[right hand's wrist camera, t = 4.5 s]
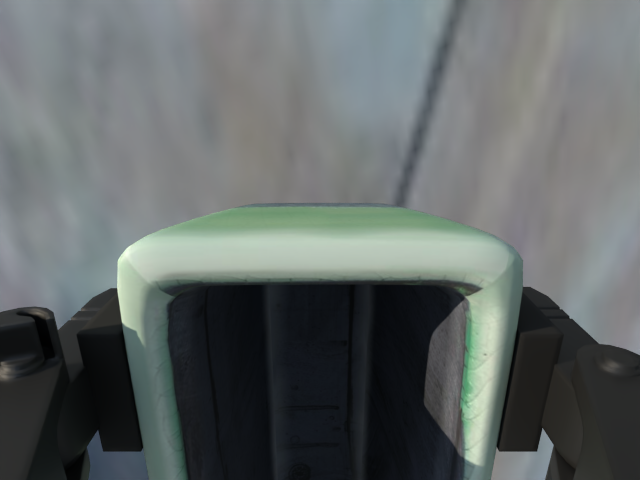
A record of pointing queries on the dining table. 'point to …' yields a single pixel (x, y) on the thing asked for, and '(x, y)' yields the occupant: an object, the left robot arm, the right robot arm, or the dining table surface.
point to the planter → (320, 344)
